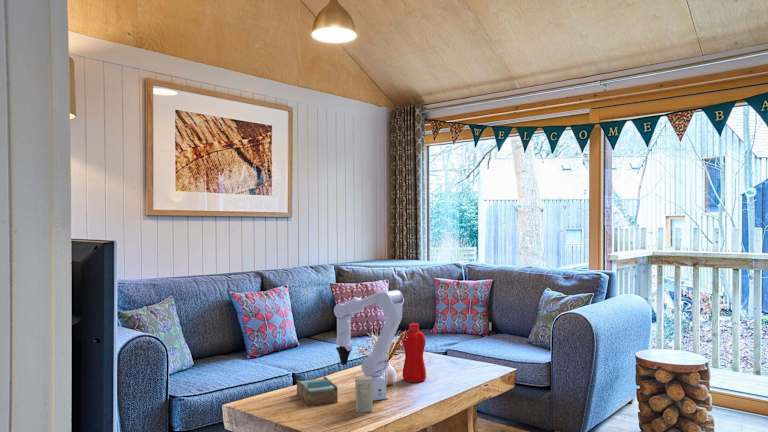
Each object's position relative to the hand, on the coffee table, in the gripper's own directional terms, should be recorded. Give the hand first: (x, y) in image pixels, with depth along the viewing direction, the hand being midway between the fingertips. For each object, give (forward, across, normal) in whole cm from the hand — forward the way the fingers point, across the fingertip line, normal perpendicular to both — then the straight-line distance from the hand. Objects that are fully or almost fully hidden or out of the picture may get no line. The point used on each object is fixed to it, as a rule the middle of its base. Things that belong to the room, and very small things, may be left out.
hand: (343, 364), depth 242 cm
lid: (+5, -7, +14) cm, 17 cm away
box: (+10, -7, +14) cm, 19 cm away
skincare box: (+11, -28, +2) cm, 30 cm away
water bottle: (+11, 0, -32) cm, 34 cm away
